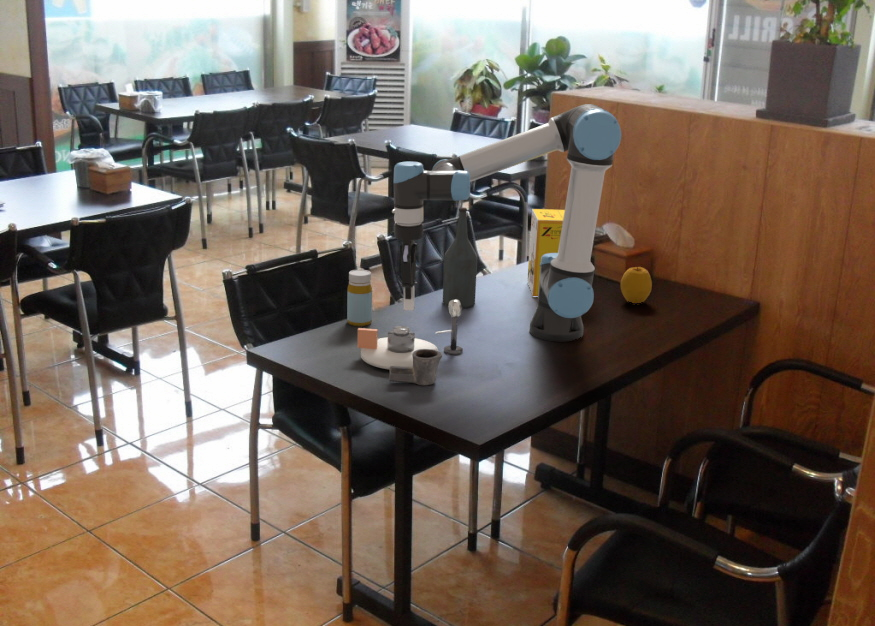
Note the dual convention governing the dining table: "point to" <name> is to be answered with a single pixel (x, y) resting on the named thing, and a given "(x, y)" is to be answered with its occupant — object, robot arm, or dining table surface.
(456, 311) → the silver headed stand
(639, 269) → the apple
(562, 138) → the robot arm
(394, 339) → the cover
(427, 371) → the pipe
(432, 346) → the turntable
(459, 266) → the bottle
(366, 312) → the bottle
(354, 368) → the dining table surface
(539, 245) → the packaging box
